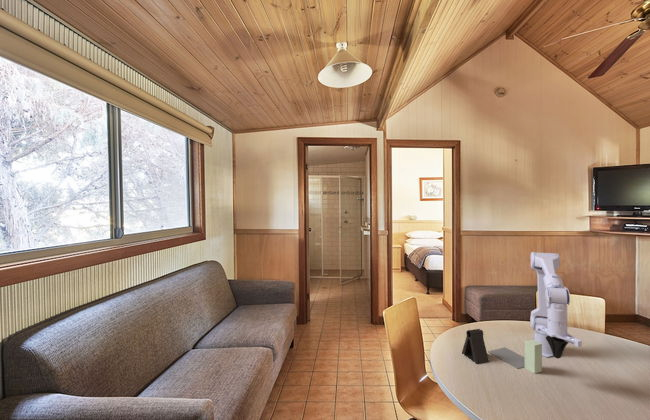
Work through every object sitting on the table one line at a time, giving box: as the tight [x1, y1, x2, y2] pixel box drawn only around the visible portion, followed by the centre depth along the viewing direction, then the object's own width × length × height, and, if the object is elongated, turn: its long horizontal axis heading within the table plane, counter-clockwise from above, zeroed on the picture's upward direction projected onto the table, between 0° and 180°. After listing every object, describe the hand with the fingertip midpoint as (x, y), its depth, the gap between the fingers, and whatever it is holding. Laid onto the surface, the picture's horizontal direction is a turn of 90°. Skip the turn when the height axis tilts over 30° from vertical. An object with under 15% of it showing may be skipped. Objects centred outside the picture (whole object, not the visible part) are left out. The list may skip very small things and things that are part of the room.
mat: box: [487, 346, 525, 369], centre depth 124 cm, size 10×14×1 cm
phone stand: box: [461, 328, 490, 365], centre depth 125 cm, size 9×6×12 cm, turn 13°
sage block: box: [524, 339, 543, 374], centre depth 115 cm, size 4×4×11 cm
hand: (557, 357), depth 107 cm, fingers closed
